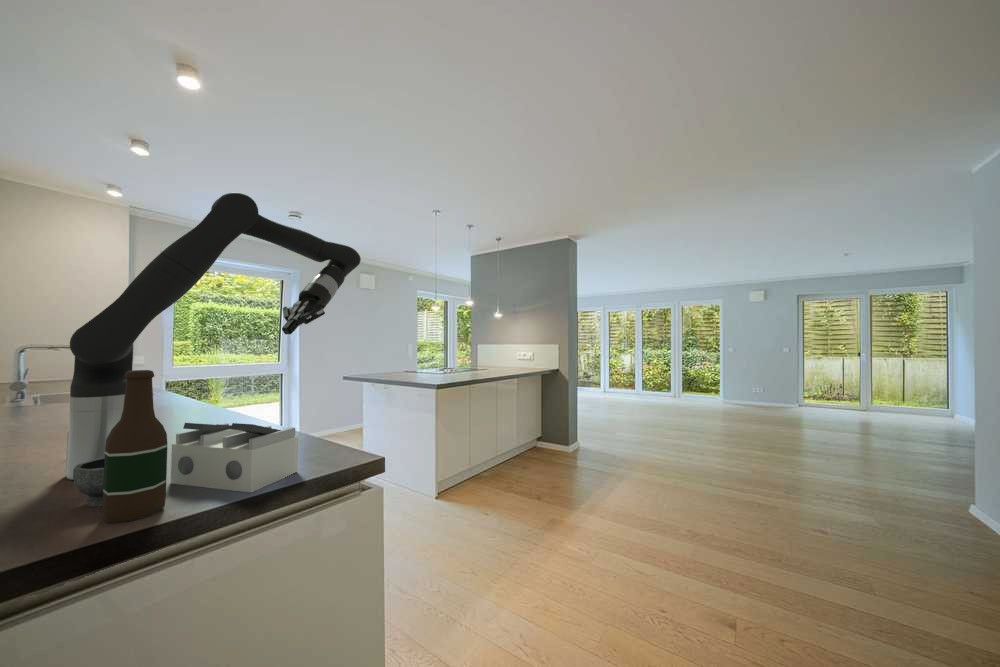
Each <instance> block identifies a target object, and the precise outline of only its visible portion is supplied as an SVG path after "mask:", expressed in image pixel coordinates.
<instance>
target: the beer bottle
mask: <svg viewBox="0 0 1000 667" xmlns="http://www.w3.org/2000/svg"><path fill="white" fill-rule="evenodd" d="M124 377H125V378H126V379H127V381H126V390H125V398H124V406H123V412H122V416H121V419H120V421H119V422H118V423H117V424H116V425H115V426H114V427H113V428H112V430H111V432H110V433H109V435H108V437H107V439H106V445H105V456H104V482H103V506H102V517H103V519H104V520H105V521H106V522H107V523H108V524H115V523H117V524H118V523H131V522H133V521H134V522H135V521H137V520H140V519H145V518H147V517H151V516H153V515H155V514H156V513H158V512H160V511H162V510H163V509H164V508H165V506H166V498H167V496H166V495H167V474H168V473H167V471H168V469H167V468H168V466H167V465H168V435H167V431H166V429H165V427H164V425H163V424H162V423H161V421H160V420H159V419H158V418H157V417H156V415H155V410H154V408H155V407H154V390H153V378H155V372H154V370H150V369H140V370H139V369H138V370H137V369H136V370H135V369H134V370H133V369H132V371H128V372H126V374H125V376H124Z"/></svg>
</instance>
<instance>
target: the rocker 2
mask: <svg viewBox="0 0 1000 667" xmlns="http://www.w3.org/2000/svg"><path fill="white" fill-rule="evenodd" d="M231 425H232V426H231V429H232V430H238V431H243V432H248V433H254V434H259V435H266V434H270V433H274V432H277V431H281V430H282V429H277V428H272V427H271V428H268V427H266V426H262V425H259V424H258V425H257V424H251V423H237V422H233V423H232V424H231Z"/></svg>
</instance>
